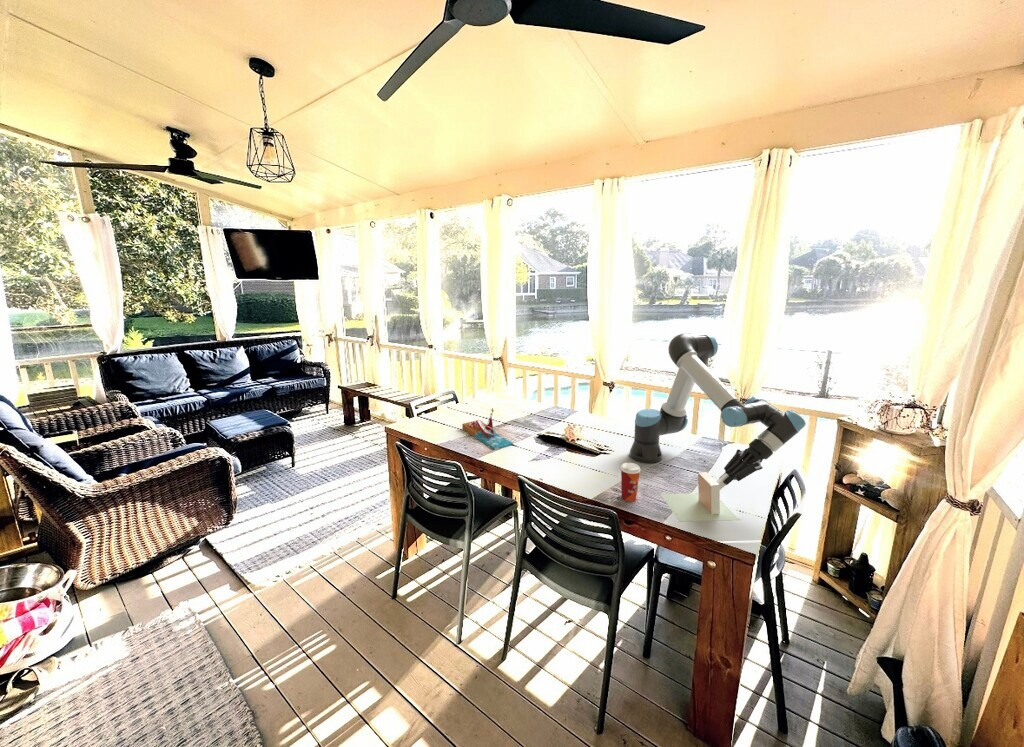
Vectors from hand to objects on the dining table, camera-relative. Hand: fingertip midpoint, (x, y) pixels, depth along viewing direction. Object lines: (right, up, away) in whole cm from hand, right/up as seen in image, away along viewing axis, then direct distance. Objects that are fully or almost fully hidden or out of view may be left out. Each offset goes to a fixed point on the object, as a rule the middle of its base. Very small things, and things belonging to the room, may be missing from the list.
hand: (715, 487), depth 150 cm
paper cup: (-30, -7, +11) cm, 33 cm away
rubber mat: (-6, -9, +3) cm, 11 cm away
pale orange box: (-2, -8, +2) cm, 8 cm away
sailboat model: (-92, +6, +77) cm, 120 cm away
